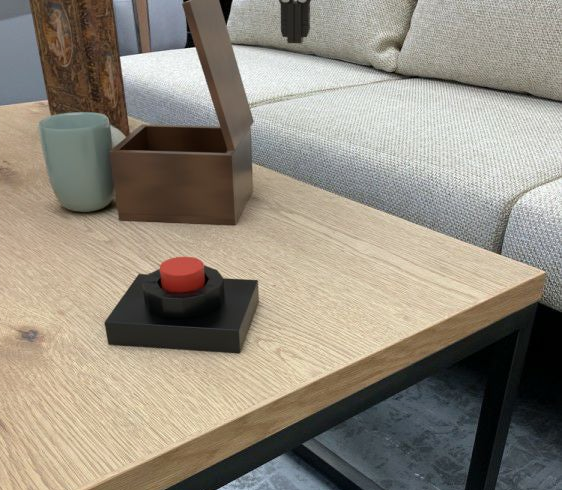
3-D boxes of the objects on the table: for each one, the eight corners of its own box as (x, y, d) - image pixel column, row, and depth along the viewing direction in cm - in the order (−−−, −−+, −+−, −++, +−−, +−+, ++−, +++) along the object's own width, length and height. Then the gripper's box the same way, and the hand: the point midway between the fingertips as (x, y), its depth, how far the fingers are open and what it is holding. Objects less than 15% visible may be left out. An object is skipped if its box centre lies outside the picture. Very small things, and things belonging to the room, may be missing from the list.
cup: (127, 195, 87) (116, 111, 81) (112, 218, 81) (99, 129, 75) (65, 195, 87) (50, 112, 82) (46, 218, 81) (27, 129, 75)
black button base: (107, 345, 57) (100, 302, 55) (141, 295, 65) (136, 254, 62) (240, 354, 56) (237, 310, 54) (259, 301, 63) (257, 260, 61)
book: (135, 139, 108) (111, -50, 94) (103, 146, 105) (74, -48, 91) (82, 120, 118) (54, -53, 104) (52, 126, 115) (19, -52, 101)
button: (156, 293, 57) (153, 273, 56) (168, 274, 60) (166, 255, 59) (199, 295, 56) (197, 276, 55) (209, 276, 59) (208, 257, 58)
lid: (181, 3, 67) (189, 1, 66) (209, -9, 76) (215, -11, 76) (227, 151, 74) (235, 150, 74) (247, 123, 83) (254, 122, 83)
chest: (118, 220, 80) (108, 151, 76) (148, 186, 90) (141, 124, 85) (235, 225, 78) (231, 155, 74) (253, 190, 88) (251, 126, 84)
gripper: (371, -168, 65) (361, 37, 75) (231, -164, 67) (239, 36, 76) (367, -176, 59) (357, 49, 68) (213, -171, 60) (225, 47, 70)
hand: (295, 42), depth 72 cm, fingers closed
